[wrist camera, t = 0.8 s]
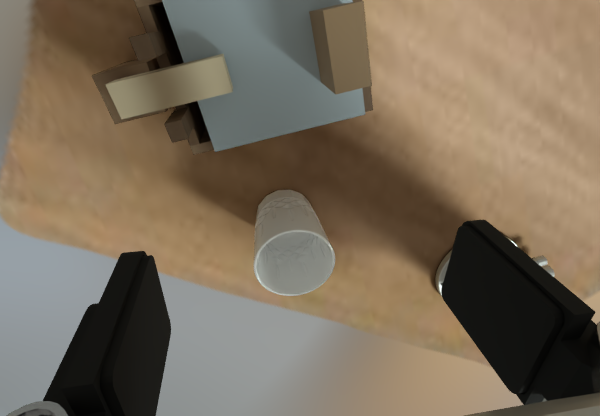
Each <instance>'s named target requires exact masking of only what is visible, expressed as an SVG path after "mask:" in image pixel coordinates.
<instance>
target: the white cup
mask: <svg viewBox="0 0 600 416" xmlns="http://www.w3.org/2000/svg"><path fill="white" fill-rule="evenodd" d="M334 265H335V254H334V250H333V248H332V246H331V244H330V242H329V240H328V238H327V235H326V233H325V231H324V229H323V227H322V225H321V223H320V221H319V219H318V217H317V215H316V213H315V212H314V210H313V208H312V206H311V204H310V202H309V201H308V200H307V199H306V198H305V197H304V196H303V195H302V194H301V193H298V192H296V191H293V190H277V191H275V192H273V193H271V194H269V195H267V196H266V197H265V198H264V199H263V200H262V202H261V203H260V204H259V205H258V210H257V215H256V223H255V236H254V272H255V275H256V278H257V280H258V281H259V282H260V284H261V285H262V286H263V287H264V288H266V289H267V290H269V291H271V292H273V293H276V294H279V295H285V296H296V295H302V294H305V293H308V292H311V291H313V290H315V289H317V288H318V287H320V286H321V285H322V284H323V283H324V282H325V281H326V280H327V279H328V278H329V276H330V275H331V273H332V271H333V269H334Z"/></svg>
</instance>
